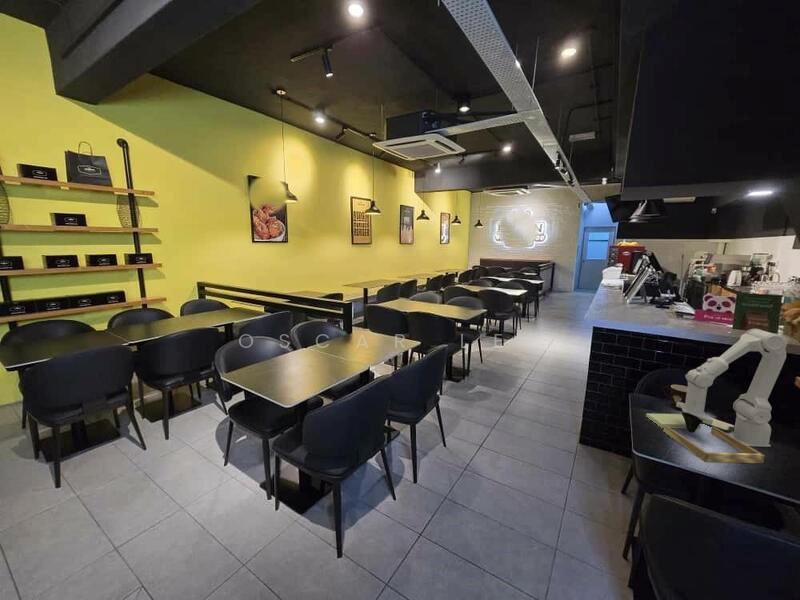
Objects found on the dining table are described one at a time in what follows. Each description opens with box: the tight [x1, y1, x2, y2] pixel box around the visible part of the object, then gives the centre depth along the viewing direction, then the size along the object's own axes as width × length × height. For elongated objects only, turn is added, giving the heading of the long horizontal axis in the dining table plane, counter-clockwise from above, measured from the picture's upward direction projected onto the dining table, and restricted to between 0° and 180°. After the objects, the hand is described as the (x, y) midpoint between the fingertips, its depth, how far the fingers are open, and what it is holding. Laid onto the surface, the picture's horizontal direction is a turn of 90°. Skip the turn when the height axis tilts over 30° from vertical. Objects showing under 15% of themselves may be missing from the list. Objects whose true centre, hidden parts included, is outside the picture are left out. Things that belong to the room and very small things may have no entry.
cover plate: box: [645, 413, 702, 430], centre depth 140 cm, size 16×9×2 cm, turn 89°
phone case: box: [701, 416, 735, 434], centre depth 141 cm, size 9×2×16 cm
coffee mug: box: [661, 384, 688, 413], centre depth 154 cm, size 12×9×10 cm
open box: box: [662, 425, 766, 464], centre depth 123 cm, size 20×19×3 cm
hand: (690, 431), depth 132 cm, fingers closed
